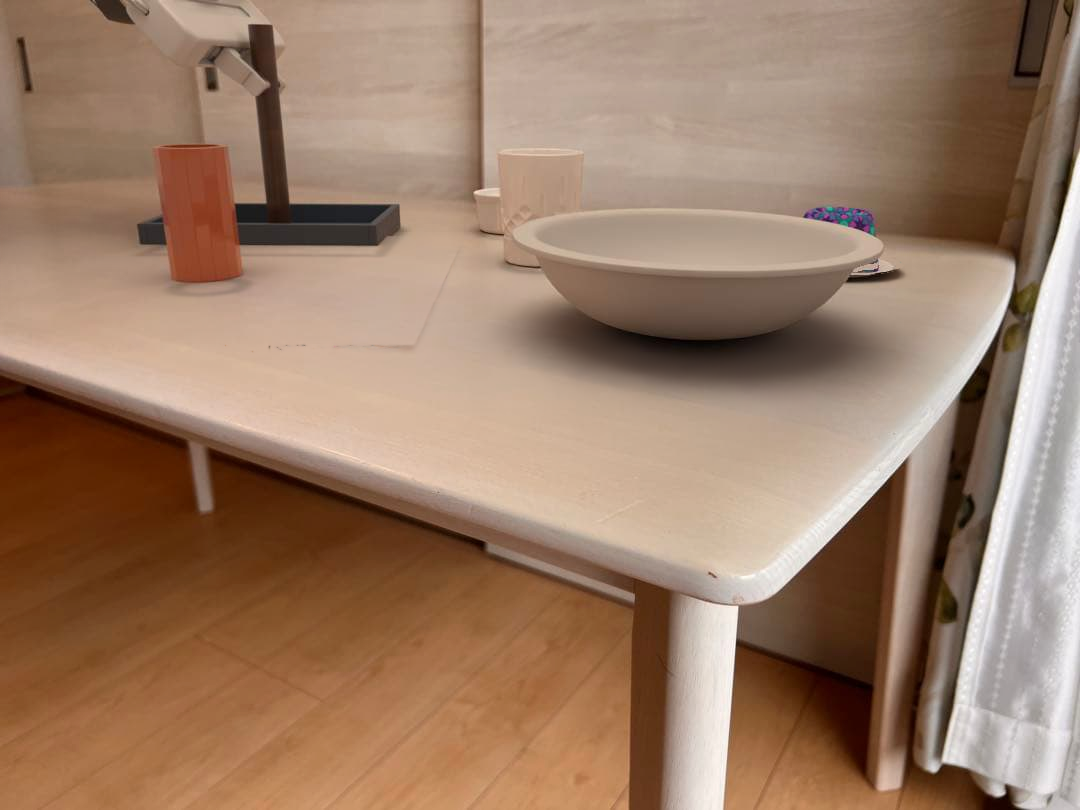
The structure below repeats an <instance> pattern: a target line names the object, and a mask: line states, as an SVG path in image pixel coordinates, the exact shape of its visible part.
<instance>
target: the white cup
mask: <svg viewBox="0 0 1080 810" xmlns="http://www.w3.org/2000/svg"><path fill="white" fill-rule="evenodd" d="M584 158H585V152H584V151H582V150H577V149H570V148H569V149H567V148H545V147H543V148H540V147H538V148H532V147H531V148H529V147H528V148H526V147H525V148H507V149H500V150H498V151H497V166H498V188H499V189H500V207H501V213H502V217H501V222H502V229H503V233H504V234H503V258H504V260H505V261H506V262H508V264H512V265H516V266H522V267H538V268H539V267H540V268H541V266H540V265H539V263H538V261H537V258H536V256H535V255H533V254H530V253H528V252H526V251H524V250H522V249H520V248H519V247H517V246H516V245H515V244H514V242H513V239H512V234H513V231H514V230H515V229H516V228H517V227H518V226H520V225H522V224H524V223H527V222H530V221H533V220H536V219H540V218H544V217H549V216H554V215H560V214H567V213H575V212H581V203H582V191H583V190H582V188H583V172H584Z"/></svg>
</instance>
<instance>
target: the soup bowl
mask: <svg viewBox="0 0 1080 810" xmlns="http://www.w3.org/2000/svg"><path fill="white" fill-rule="evenodd" d="M512 239H513V242H514V244H515V245H516V246H517V247H519V248H520V249H522V250H524V251H526V252H528V253H530V254H533V255H535V256H536V258H537V261H538V263H539V265H540V266H541V267H540V268H541V270H542V272H543V273H544V275H545V277H546V278H547V280H548V281H549V282H550V284H551V286H553V288H554V289H555V290H556V291H557V292H558V294H560V295H561V296H562V297H563V298H564V299H565V300H566V301H567V302H568V303H569V304H571V305H572V306H573V307H574V308H575V309H576V310H578V311H580V312H581V313H583V314H584V315H586V316H588V317H589V318H592V319H594V320H596V321H597V322H600V323H603V324H604V325H607V326H610V327H613V328H616V329H619V330H622V331H626V332H630V333H634V334H638V335H643V336H651V337H656V338H662V339H673V340H674V339H675V340H688V341H689V340H691V341H693V340H694V341H716V340H717V341H718V340H732V339H741V338H748V337H753V336H759V335H764V334H768V333H771V332H775V331H778V330H781V329H784V328H786V327H789V326H791V325H793V324H795V323H798V322H799V321H800V320H803V319H804V318H807V317H808V316H809V315H811V314H813V313H815V311H817V310H818V309H820V308H821V307H822V306H823V305H825V304H826V303H827V302H829V300H831V298H833V296H834V295H836V294H837V293H838V291H839V290H840V289H841V288H842V287H843V286H844V284H845V283H846V282H847V280H848V279H849V278H850V277H849V276H850V275H851V273H852V272H853V270H854V269H855V268H857V267H860V266H864V265H867V264H869V263H872V262H874V261H876V260H877V259H879V258H880V257H881V255H883V254H884V251H885V246H884V244H883V241H882V240H881V239H879V238H878V237H877V236H876V237H874V236H873V235H870V234H868V233H866V232H863V231H860V230H858V229H854V228H851V227H847V226H843V225H839V224H835V223H830V222H825V221H819V220H814V219H807V218H803V217H800V216H793V215H784V214H778V213H777V214H776V213H769V212H768V213H767V212H759V211H757V212H756V211H743V210H730V209H711V208H710V209H709V208H682V207H681V208H678V207H676V208H675V207H673V208H672V207H654V208H653V207H649V208H647V207H645V208H615V209H599V210H598V209H597V210H587V211H580V212H575V213H567V214H560V215H554V216H549V217H544V218H540V219H536V220H533V221H530V222H527V223H524V224H522V225H520V226H518V227H517V228H516V229H515V230H514V231H513V234H512Z"/></svg>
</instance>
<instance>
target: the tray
mask: <svg viewBox="0 0 1080 810" xmlns="http://www.w3.org/2000/svg"><path fill="white" fill-rule="evenodd" d="M235 210H236V219H237V227H238V236H239V244H240V246H317V247H318V246H321V247H324V246H327V247H329V246H333V247H334V246H337V247H339V246H340V247H341V246H342V247H378V246H379V245H380V244H381V243H382V242H383V241H384V240H385V239H386V237H393V236H394V234H395V233H396V232H397V231H398V230H399V229H400V228H401V225H402V224H401V207H400V203H298V202H297V203H295V202H294V203H291V202H290V211H291V222H292V223H268V214H267V205H266V202H265V203H263V202H235ZM136 227H137V234H138V239H139V244H140V246H141V245H145V246H146V245H150V246H153V245H155V246H157V245H158V246H159V245H162V246H167V243H166V237H165V230H164V223H163V216H162V214H159V215H158V216H155V217H152V218H150V219H146V220H143V221H141V222H138V223H136Z"/></svg>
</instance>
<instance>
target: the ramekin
mask: <svg viewBox="0 0 1080 810" xmlns="http://www.w3.org/2000/svg"><path fill="white" fill-rule="evenodd" d="M473 198H474V201H475V207H476V217H477V223H478V228H479V230H481V231H482V232H485V233H488V234H497V235H505V234H504V233H503V229H502V222H501V217H502V213H501V207H500V189H499V187H492V188H491V187H490V188H482V189H477V190H475V191H473Z"/></svg>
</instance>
